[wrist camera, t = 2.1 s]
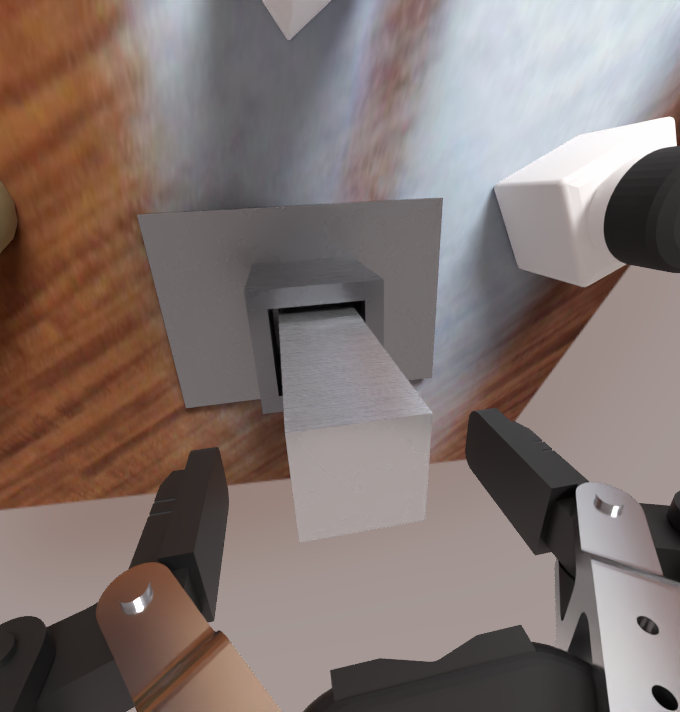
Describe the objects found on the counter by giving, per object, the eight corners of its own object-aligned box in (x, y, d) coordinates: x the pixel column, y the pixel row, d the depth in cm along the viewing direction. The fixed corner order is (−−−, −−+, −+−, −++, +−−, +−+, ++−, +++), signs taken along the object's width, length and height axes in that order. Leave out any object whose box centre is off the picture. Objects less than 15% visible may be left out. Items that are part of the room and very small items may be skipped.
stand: (435, 197, 26) (526, 198, 17) (426, 371, 32) (490, 443, 23) (143, 213, 24) (58, 224, 14) (189, 400, 29) (150, 496, 20)
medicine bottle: (516, 270, 30) (657, 312, 19) (490, 185, 27) (640, 176, 16) (596, 224, 29) (786, 240, 19) (578, 133, 26) (793, 88, 15)
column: (332, 279, 26) (432, 413, 10) (335, 331, 28) (425, 520, 12) (276, 284, 26) (284, 433, 9) (282, 337, 27) (299, 542, 11)
